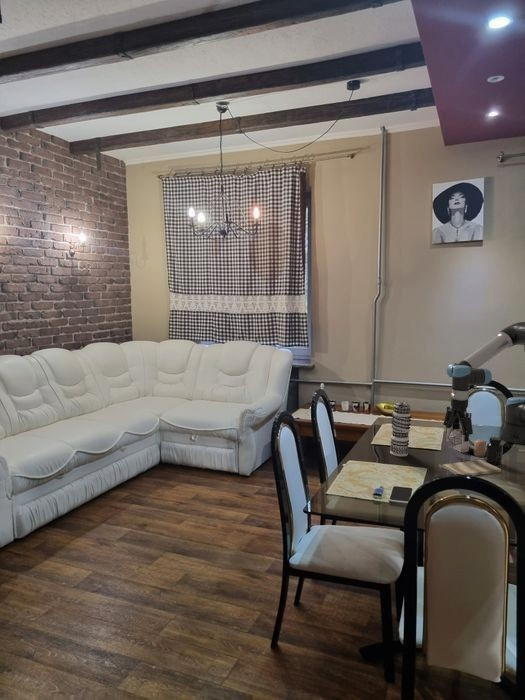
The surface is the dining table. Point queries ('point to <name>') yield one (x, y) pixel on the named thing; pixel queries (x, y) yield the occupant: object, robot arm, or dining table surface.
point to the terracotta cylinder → (480, 448)
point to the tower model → (400, 429)
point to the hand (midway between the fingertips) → (456, 444)
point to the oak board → (471, 468)
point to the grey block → (458, 448)
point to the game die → (456, 436)
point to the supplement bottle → (494, 451)
